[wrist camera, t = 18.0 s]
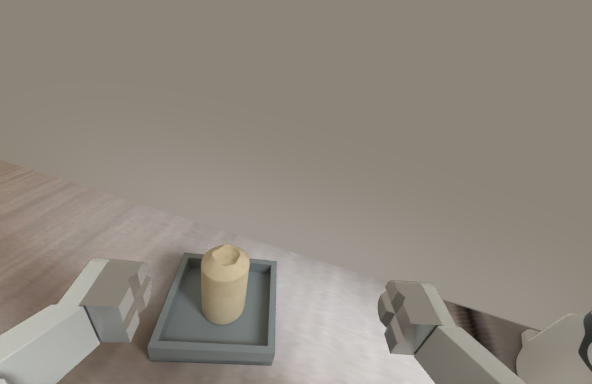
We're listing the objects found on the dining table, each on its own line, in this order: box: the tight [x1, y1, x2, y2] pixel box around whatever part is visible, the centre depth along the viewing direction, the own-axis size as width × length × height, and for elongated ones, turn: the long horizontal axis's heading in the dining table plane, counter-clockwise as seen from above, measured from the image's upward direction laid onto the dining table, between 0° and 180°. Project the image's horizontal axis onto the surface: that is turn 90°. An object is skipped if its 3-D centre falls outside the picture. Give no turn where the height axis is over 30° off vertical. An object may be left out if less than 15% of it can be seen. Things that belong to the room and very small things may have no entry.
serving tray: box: [147, 253, 277, 366], centre depth 37 cm, size 14×14×3 cm
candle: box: [201, 244, 250, 325], centre depth 34 cm, size 6×6×10 cm
